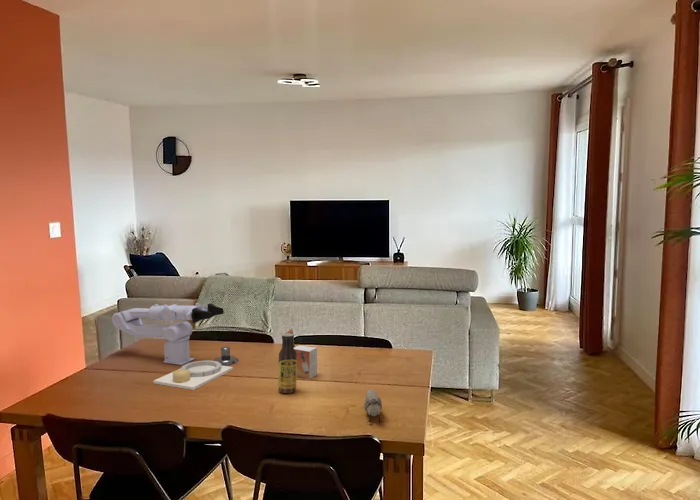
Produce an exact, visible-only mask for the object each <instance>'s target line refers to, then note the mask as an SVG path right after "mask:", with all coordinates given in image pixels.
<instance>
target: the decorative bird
mask: <svg viewBox="0 0 700 500" xmlns="http://www.w3.org/2000/svg"><path fill="white" fill-rule="evenodd" d="M363 403H364V404H363V408H364V411H366V412H368V417H369V419H368V421H367V422H366V423H372V424H374V422H373V421H372V419H371V417H376V416H378V419H377V421H376V422H375V424H377V423H378V424H379V425H380V423H383V421H382V419H381V418H380V415H381V410H382V408H383V405H382V404H383V402H382V399H381V398H380V396H378V394H377V392H376V391H375V390H374V389H369V390H367V391H366V393H365V400H364V402H363Z"/></svg>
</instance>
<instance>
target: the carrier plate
mask: <svg viewBox="0 0 700 500" xmlns="http://www.w3.org/2000/svg"><path fill="white" fill-rule="evenodd" d="M233 370H234V366H230V365H229V366H226V365H221V363H219V362H218V361H214V360H210V359H207V360H206V359H205V360H195V361H190V362H187V363H185V364H183V365H181V367H180V368H179V369H175V370H173V371H172V372H170V373H167V374H164V375H162V376H161V377H159V378H156V379H154V380H153V381H152V382H153V384H156V385H161V386H167V387H173V388H179V389H185V390H190V391H191V390H192V391H195V390H197V389H198V388H201V387H202V386H204V385H206V384H208V383H210V382H212V381H215V380H217V379H218V378H220V377H222V376H223V375H225V374H227V373H229V372H231V371H233Z"/></svg>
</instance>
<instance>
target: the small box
mask: <svg viewBox="0 0 700 500" xmlns="http://www.w3.org/2000/svg"><path fill="white" fill-rule="evenodd" d="M294 349H295V351H296V357H297V377H298V378H303V379H307V380H310V379H312V378H314V377H316V376H317V375H318V347H313V346H306V345H301V344H299V345H297V346H295V347H294Z"/></svg>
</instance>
